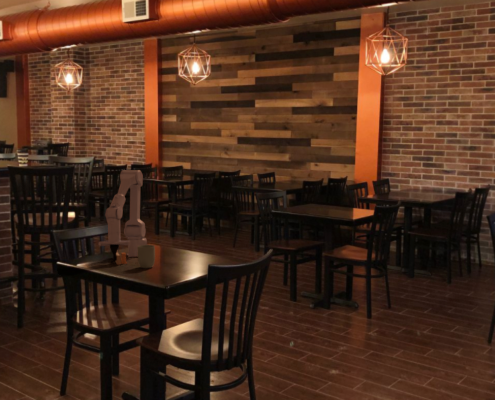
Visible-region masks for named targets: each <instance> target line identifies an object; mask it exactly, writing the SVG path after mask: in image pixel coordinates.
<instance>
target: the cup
mask: <svg viewBox="0 0 495 400" xmlns="http://www.w3.org/2000/svg"><path fill="white" fill-rule="evenodd" d="M155 247H156V246H155V245H153V244H147V245H140V246H138V247H137V254H138V256H137V263H138V265H139V266H138V267H140V268H141V269H152V268H153V267H154V265H155V263H156V262H155V260H156V248H155Z"/></svg>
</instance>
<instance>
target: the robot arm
mask: <svg viewBox="0 0 495 400" xmlns="http://www.w3.org/2000/svg"><path fill="white" fill-rule="evenodd" d="M119 177H120V178H119V179H120V184H119V188H118V190H117V193H116V194H114V196H113V198H112V200H111V203H110V206H109V207H107V208H106V209H105V214H104V215H105V218H106V223H107V237H108V239H107V240H106V241H105V240H103V241H98V247H104V246H105V247H108V246H109V248H110V250H111V253H112V256H113V257H112V261H113V262H116V252H117V250H118V251H119V246H127V249H128V250H127V253H126V257H128V258H134V257H136V258H138V254H137V247H138V246H140V245H148V242H147V241H148V240H147V238H146V237H145V236H146V232H147V229H146V224H145V222H144V221H143V220H141V187H143V183H144V182H143V181H144V178H143V177H144V176H143V173H142V171H141V170H140V169H137V170H135V169H134V170H133V169H132V170H131V169H128V170H127V169H126V170H125V169H122V170H121V171H120V174H119ZM129 189H130V192H129V219H128V220H127V221H126V222H125V224H124V229H123V234H124V237H125V238H126V239H127V240H121V238H122V237H121V219H122V218H123V215H124V214H123V210H124V209H123V208H124V205H125V203H126V197H125V196H126V195H127V193H128V191H129Z"/></svg>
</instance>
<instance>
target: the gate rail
mask: <svg viewBox="0 0 495 400" xmlns="http://www.w3.org/2000/svg"><path fill="white" fill-rule="evenodd" d="M118 252H119V251H118ZM118 252H116V261H115V263H116V265H122V264H121V254H120V252H119V253H118Z"/></svg>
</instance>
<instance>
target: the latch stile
mask: <svg viewBox="0 0 495 400" xmlns="http://www.w3.org/2000/svg"><path fill="white" fill-rule="evenodd" d="M126 254H127V252H120V255H121V264H120V265H126V264H127V265H128V262H127V255H126Z"/></svg>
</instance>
